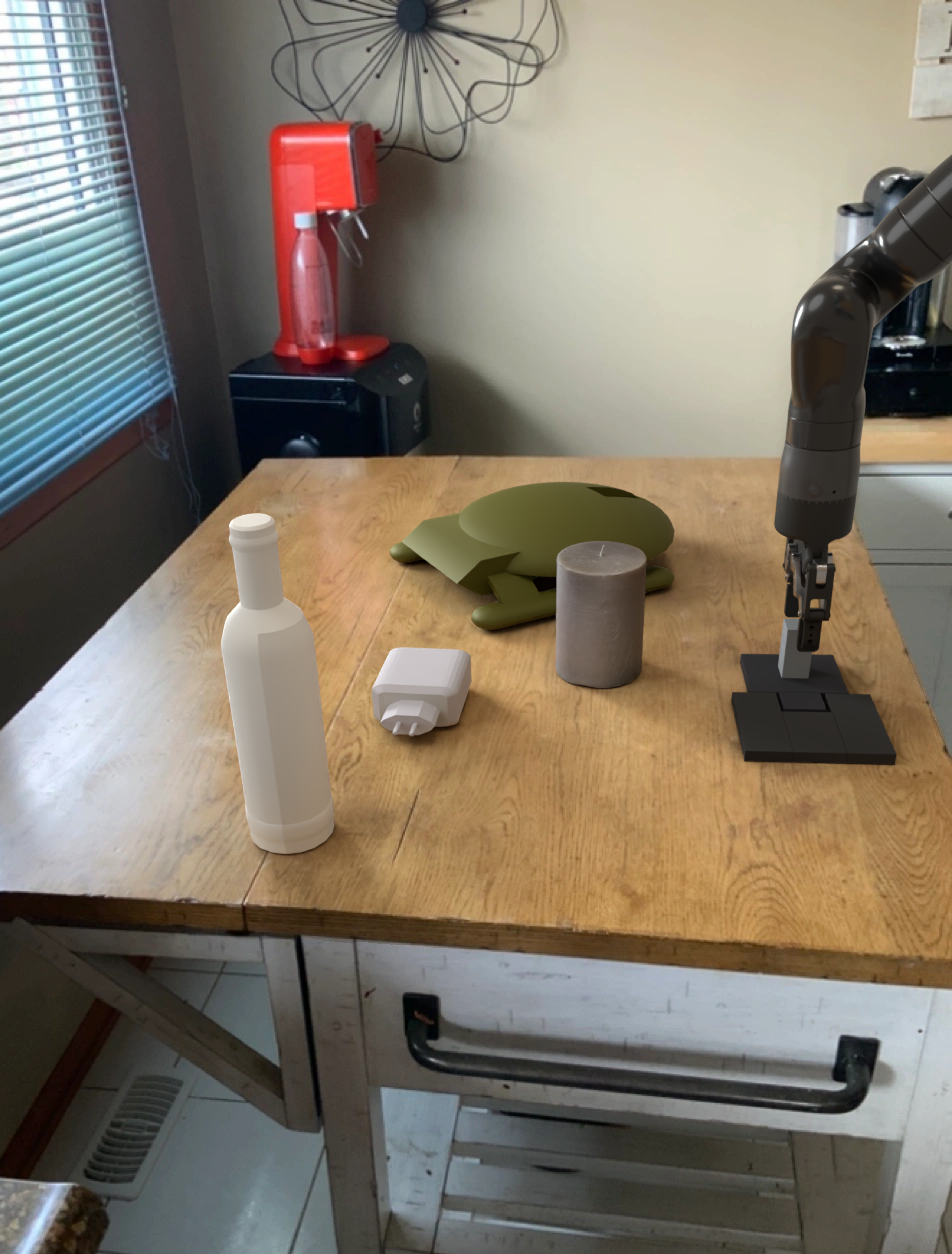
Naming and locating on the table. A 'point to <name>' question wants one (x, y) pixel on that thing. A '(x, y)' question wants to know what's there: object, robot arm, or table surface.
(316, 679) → the bottle
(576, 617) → the pillar candle
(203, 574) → the table surface
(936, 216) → the robot arm
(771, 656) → the loose pad
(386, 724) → the charger
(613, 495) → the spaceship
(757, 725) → the pad
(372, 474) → the table surface
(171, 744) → the table surface
